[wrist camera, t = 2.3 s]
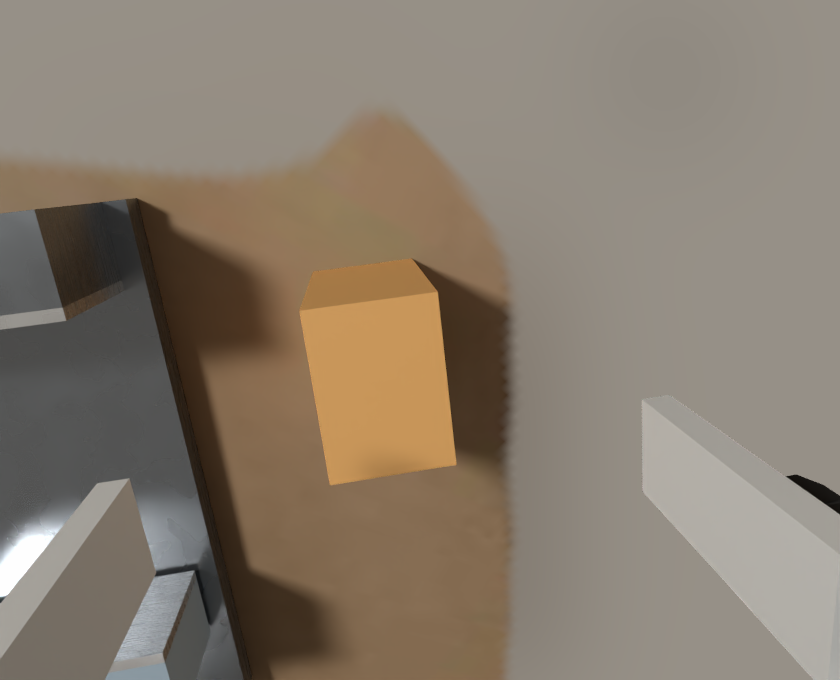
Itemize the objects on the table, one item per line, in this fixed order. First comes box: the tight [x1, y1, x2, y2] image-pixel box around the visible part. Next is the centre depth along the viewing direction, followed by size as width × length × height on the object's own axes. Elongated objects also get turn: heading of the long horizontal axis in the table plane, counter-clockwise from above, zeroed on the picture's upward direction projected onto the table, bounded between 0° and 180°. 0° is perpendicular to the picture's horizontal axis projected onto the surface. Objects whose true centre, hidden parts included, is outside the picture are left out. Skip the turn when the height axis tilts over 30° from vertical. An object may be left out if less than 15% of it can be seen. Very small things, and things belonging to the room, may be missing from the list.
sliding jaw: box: [0, 570, 211, 680], centre depth 29 cm, size 4×12×6 cm, turn 97°
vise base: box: [0, 198, 252, 680], centre depth 28 cm, size 28×14×8 cm, turn 6°
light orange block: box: [300, 259, 456, 485], centre depth 27 cm, size 7×5×9 cm
